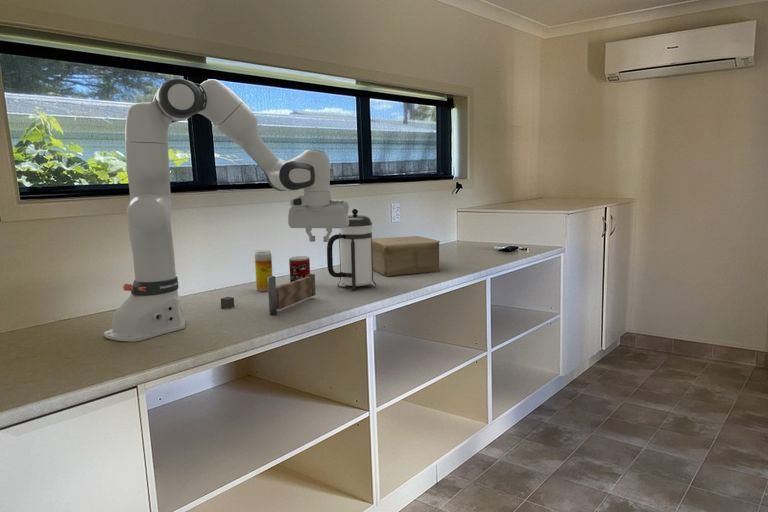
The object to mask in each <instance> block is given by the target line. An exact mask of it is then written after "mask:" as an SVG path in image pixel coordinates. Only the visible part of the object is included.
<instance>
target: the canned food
mask: <svg viewBox="0 0 768 512" xmlns="http://www.w3.org/2000/svg"><path fill="white" fill-rule="evenodd" d="M288 259H289V261H288V262H289V264H288V265H289V280H290V282H293V281H296V280H298V279H301V278H304V277H307V275H308V274H311V266H310V265H311V263H310V261H311V260H310V259H311V258H310V256H306V255H302V256H301V255H300V256H297V255H295V256H291V257H289V258H288ZM290 282H289V283H290Z"/></svg>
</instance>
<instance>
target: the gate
mask: <svg viewBox="0 0 768 512" xmlns="http://www.w3.org/2000/svg"><path fill="white" fill-rule="evenodd" d="M316 295H317V294H316V274H315V273H310V274H308V275H307V277H304V278H301V279H298V280H296V281H293V282H287V283H284V284H282V285H278V286H276V299H277V310H282V309H284V308H286V307H289V306H292V305H295V304H297V303H299V302H301V301H304V300H306V299H309V298H312V297H315V296H316Z"/></svg>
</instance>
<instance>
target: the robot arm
mask: <svg viewBox="0 0 768 512" xmlns="http://www.w3.org/2000/svg"><path fill="white" fill-rule="evenodd" d="M196 114H199V115H202V116H204V118H206V119H208V120H209V121H210V122H211V123H212V124H213V125H214V126H215V127H216V129H218V130H219V131H220V132H221V133H222V134H223V135H225V137H227V138H228V139H229V140H231V141H232V142H234V144H236V145H238V147H240V148H241V149H243V151H244V152H245V153H247V155H248V156H250V158H251V160H253V162H255V163H256V164H257V165H258V166H259V167H260V169H261V170H262V171H263V173H264V176H265V178H266V180H267V182H268V184H269V186H270V187H272V188H273V189H274V190H277V191H279V192H285V191H287V192H290V191H291V192H292V191H294V192H295V191H299V190H302V189H303V195H299V196H298V197H295V198H292V199H290V200H289V205H290V206H291V207H290V208H289V210H288V217H287V220H288V221H287V223H288V226H289V227H290V229H305V233H306V234H307V237H308V240H309V243H310V242H312V243H313V242H314V243H315V242H316V235H313V233H312V229H325V232H327V233H326V235H324V236H323V237H322V238H323V240H322V241H323V242H324V243H328V242H329V239H330V236H331V234H332V232H333V229H339V228H347V227H348V225H349V218H348V216H349V213H348V212H349V204H348V202H347V201H345V200H344V199H332V188H331V186H330V185H331V184H330V181H331V164H330V160H329V159H330V158H329V155H328V154H327V153H326V152H324V151H323V150H319V149H312V148H310V149H309V148H308V149H305V150H304V151H303V152H301V153H300V154H299V155H297V156H295V157H293V158H291V159H288V160H284V159H281V158H280V157H278V156H277V155H276V154H275V153H274V152H273V151H272V150H271V149H270V147H269V146H268V145H267V144H266V143H265V142H264V141H263V139H262V138H261V137H260V135H259V132H258V118H257V117H256V116H255V114H254V113H253V111H252V110H251V108H250V107H249V106H248V105H247V104H246V102H244V101H243V100H242V99H241V98H240V96H238V95H237V94H236V93H235V92H234V91H233V90H232V89H231V88H229V87H228V86H226V85H225V84H224V83H223V82H221V81H220V80H217V79H213V78H210V79H207V80H204V81H203V82H201V83H200V84H199V83H195V82H193V81H190V80H187V79H185V78H180V77H175V78H170V79H168V80H166V81H165V82H163V83H162V84H161V85H160V86H158V88H157V90H156V91H155V94H154V96H153V97H152V99H151V100H150V101H149V102H146V101H145V102H138V103H134V104H132V105H130V106H129V108H128V110H127V112H126V119H125V131H124V140H125V142H124V144H125V146H124V147H125V163H126V165H125V166H126V174H127V181H128V188H129V190H128V191H129V200H130V202H129V203H128V205H127V208H126V222H127V227H128V228H127V229H128V235H129V239H130V240H129V241H130V246H131V251H132V260H133V261H132V262H133V268H134V280H133V283H132V284H131V283H124V284H123V286H122V289H123V291H125V292H126V291H127V292H130V295H129V297H128V298H126V300H125V301H124V302H123V303H122V304H121V305H120V306H119V307H118V308H117V309H116V311H115V312H114V313H113V315H112V324H111V325H112V326H111V327H112V328H111V329H108V330H105V331H104V332H103V336H104V338H106V339H109V340H112V341H118V342H119V341H120V342H139V341H140V342H141V341H143V340H146V339H150V338H154V337H157V336H158V337H159V336H162V335H164V334H169V333H172V332H176V331H180V330H182V329H185V328H186V319H185V316H184V313H183V310H182V306H181V302H180V297H179V294H178V293H179V291H178V289H179V287H180V286H179V280H178V279H179V278H178V276H177V273H176V262H175V261H176V260H175V259H176V258H175V248H174V241H173V233H172V231H173V230H172V223H171V217H172V197H171V192H172V191H171V179H170V177H171V176H170V162H169V161H170V159H169V138H168V134H169V133H168V131H169V127H170V124H172V123H178V122H181V121H182V122H183V121H185V120H186V121H187V120H188V119H189V118H191V117H193V116H194V115H196Z"/></svg>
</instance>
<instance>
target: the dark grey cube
mask: <svg viewBox="0 0 768 512" xmlns="http://www.w3.org/2000/svg"><path fill="white" fill-rule="evenodd" d="M220 307H221V308H222V309H230V308H233V307H235V297H231V296H225V297H221V298H220Z"/></svg>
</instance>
